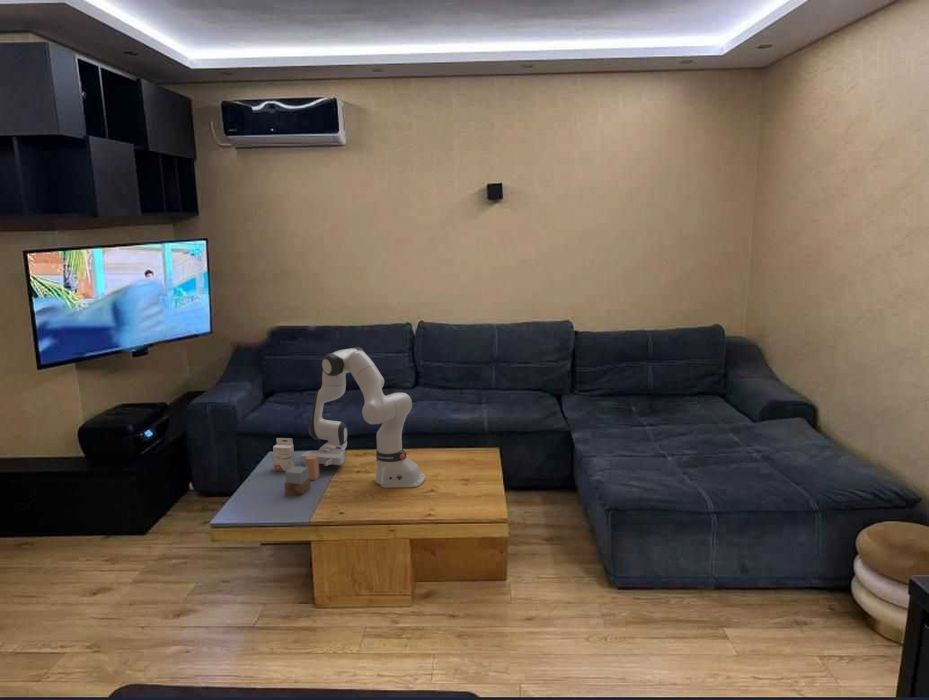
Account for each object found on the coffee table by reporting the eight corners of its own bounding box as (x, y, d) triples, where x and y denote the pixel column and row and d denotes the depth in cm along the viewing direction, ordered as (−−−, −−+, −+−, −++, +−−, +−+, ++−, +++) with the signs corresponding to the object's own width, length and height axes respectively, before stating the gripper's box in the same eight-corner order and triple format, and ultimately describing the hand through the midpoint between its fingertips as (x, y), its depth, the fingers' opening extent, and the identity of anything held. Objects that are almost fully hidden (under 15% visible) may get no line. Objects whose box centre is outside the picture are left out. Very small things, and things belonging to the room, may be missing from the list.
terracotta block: (319, 476, 306) (318, 455, 304) (315, 480, 302) (313, 459, 300) (310, 475, 307) (309, 455, 305) (306, 479, 303) (304, 458, 301)
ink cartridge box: (274, 470, 314) (271, 441, 311) (277, 467, 319) (275, 437, 316) (291, 471, 313) (289, 441, 310) (295, 467, 318) (293, 437, 315)
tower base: (310, 488, 293) (309, 477, 292) (302, 495, 286) (301, 484, 285) (294, 487, 295) (293, 476, 294) (285, 494, 288) (284, 483, 287)
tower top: (308, 478, 292) (308, 467, 291) (300, 484, 285) (300, 473, 284) (294, 476, 294) (293, 466, 293) (286, 482, 287) (285, 471, 286)
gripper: (307, 446, 322) (294, 456, 309) (347, 448, 317) (335, 458, 304) (308, 458, 323) (295, 469, 310) (347, 460, 319) (336, 471, 305)
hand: (315, 463), depth 307 cm, fingers open, 8 cm apart
